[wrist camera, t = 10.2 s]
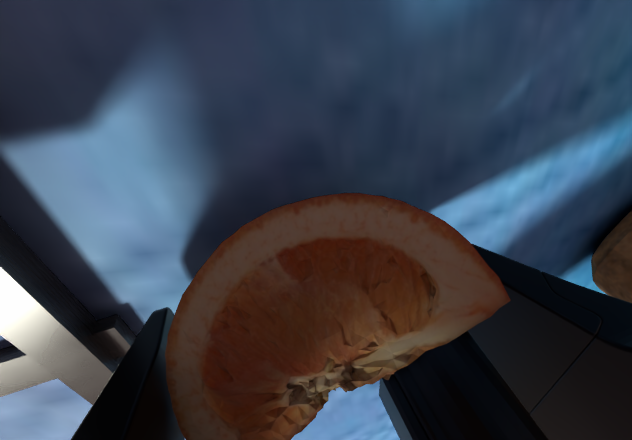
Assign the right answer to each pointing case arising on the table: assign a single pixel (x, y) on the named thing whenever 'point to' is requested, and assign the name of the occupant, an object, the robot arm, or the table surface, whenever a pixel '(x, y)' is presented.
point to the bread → (615, 262)
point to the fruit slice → (317, 312)
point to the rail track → (51, 328)
